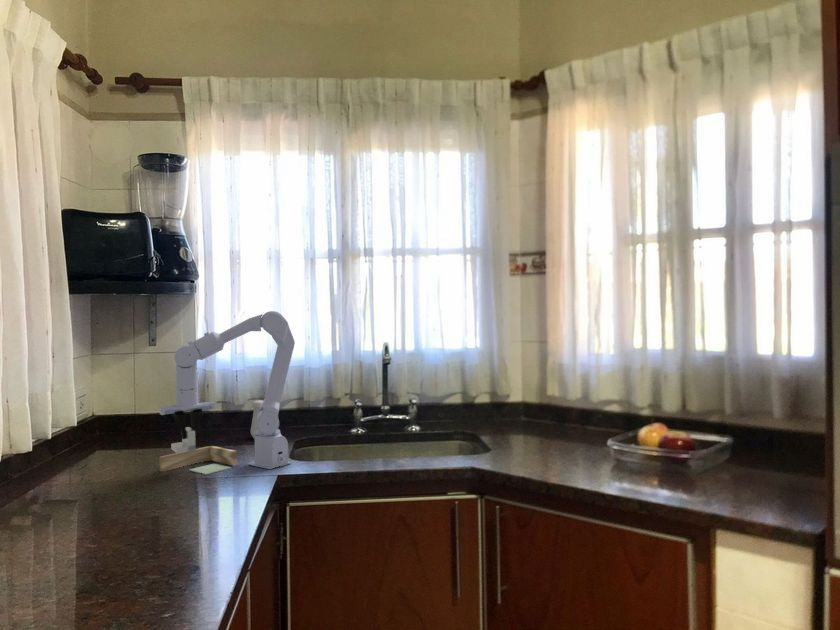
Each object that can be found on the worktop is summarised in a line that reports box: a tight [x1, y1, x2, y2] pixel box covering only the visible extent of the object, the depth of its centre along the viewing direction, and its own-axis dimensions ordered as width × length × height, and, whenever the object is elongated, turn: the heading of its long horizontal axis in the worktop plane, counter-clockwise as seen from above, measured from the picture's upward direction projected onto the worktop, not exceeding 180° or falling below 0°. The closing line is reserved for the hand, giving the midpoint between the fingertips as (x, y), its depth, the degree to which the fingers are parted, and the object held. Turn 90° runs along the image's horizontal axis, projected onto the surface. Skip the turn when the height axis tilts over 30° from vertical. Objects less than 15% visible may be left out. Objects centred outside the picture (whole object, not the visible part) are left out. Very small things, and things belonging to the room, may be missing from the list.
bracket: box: [170, 426, 197, 453], centre depth 173 cm, size 6×5×6 cm
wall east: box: [158, 445, 212, 472], centre depth 180 cm, size 1×16×4 cm, turn 143°
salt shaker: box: [250, 399, 264, 440], centre depth 217 cm, size 6×6×13 cm
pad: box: [189, 463, 232, 476], centre depth 175 cm, size 8×8×1 cm
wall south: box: [209, 445, 238, 466], centre depth 183 cm, size 12×1×4 cm, turn 52°
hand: (188, 437), depth 174 cm, fingers closed on bracket
